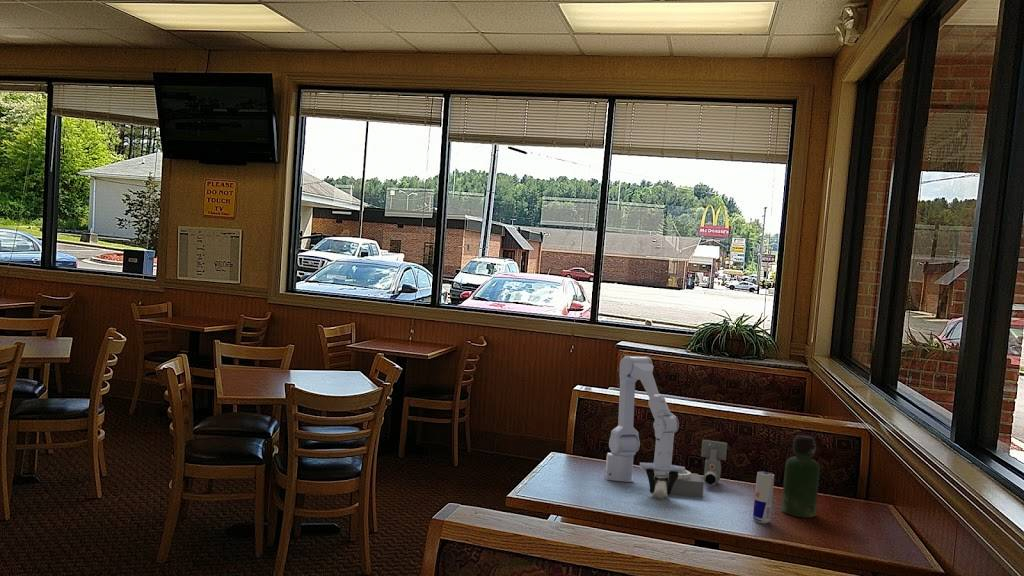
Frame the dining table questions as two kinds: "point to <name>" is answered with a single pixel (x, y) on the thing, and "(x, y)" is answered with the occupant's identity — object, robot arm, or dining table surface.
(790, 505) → the green bottle
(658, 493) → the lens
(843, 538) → the dining table surface
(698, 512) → the dining table surface
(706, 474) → the camera
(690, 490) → the mount block
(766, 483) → the beverage can
